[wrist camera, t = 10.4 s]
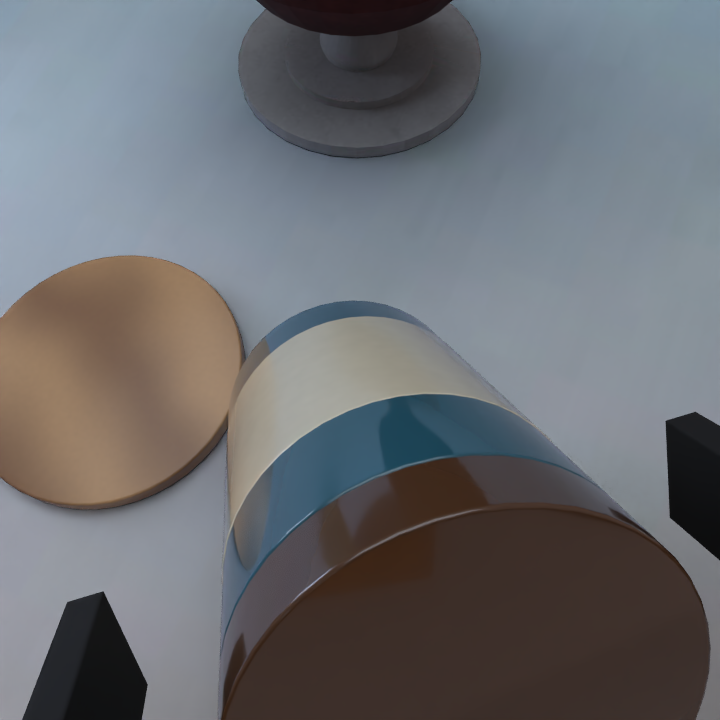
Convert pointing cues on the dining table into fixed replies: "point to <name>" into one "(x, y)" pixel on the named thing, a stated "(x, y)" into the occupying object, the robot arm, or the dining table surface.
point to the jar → (430, 547)
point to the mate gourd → (359, 72)
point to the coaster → (114, 381)
